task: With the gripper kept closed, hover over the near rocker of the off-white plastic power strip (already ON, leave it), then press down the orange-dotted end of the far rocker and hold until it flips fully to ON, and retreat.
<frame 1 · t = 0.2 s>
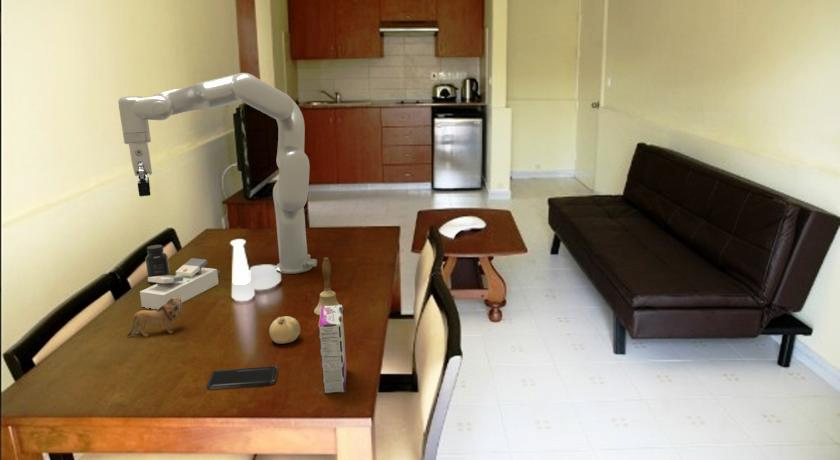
hand: (144, 192, 203), 31 cm above the table, tool pointing down, fingers open, 9 cm apart
strip: (182, 295, 203), on the table
supplement bottle: (159, 282, 216), on the table
hand bell: (328, 311, 188), on the table
phone: (243, 381, 150), on the table
candy bar box: (335, 382, 148), on the table
rocker 1: (192, 267, 206), point 7 cm above the table, hinge at -14.0°
rocker 2: (165, 279, 196), point 7 cm above the table, hinge at 14.0°
lion figurine: (159, 332, 177), on the table
onion: (285, 341, 169), on the table
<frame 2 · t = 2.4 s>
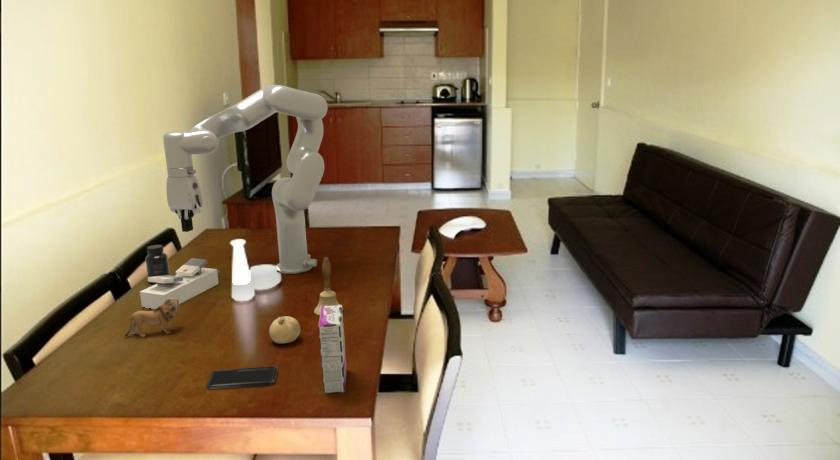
hand: (187, 230, 203), 19 cm above the table, tool pointing down, fingers closed
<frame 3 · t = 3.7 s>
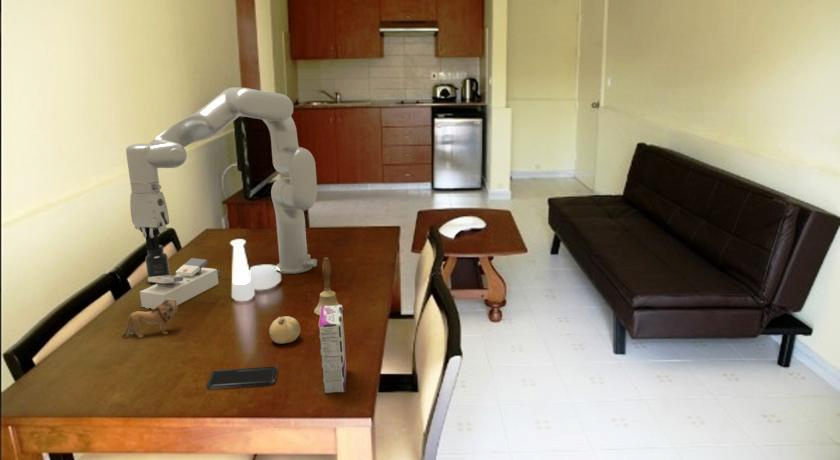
hand: (153, 249, 190), 17 cm above the table, tool pointing down, fingers closed
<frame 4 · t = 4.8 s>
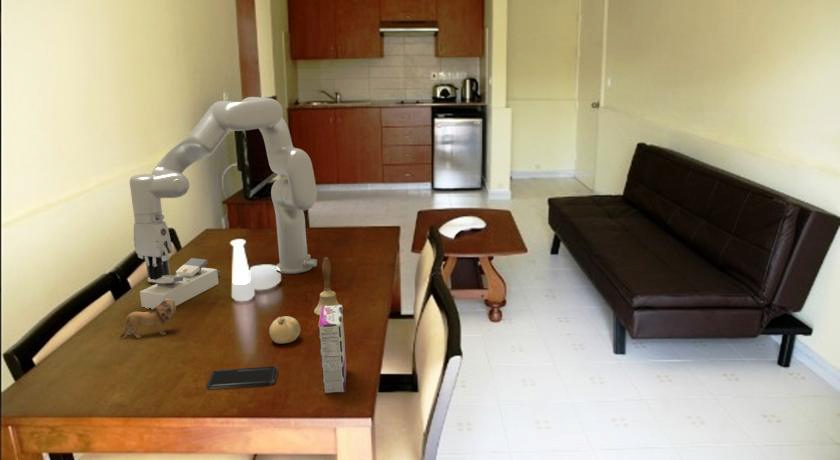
hand: (156, 278, 192), 9 cm above the table, tool pointing down, fingers closed
rocker 2: (165, 279, 196), point 7 cm above the table, hinge at 13.6°, touching gripper
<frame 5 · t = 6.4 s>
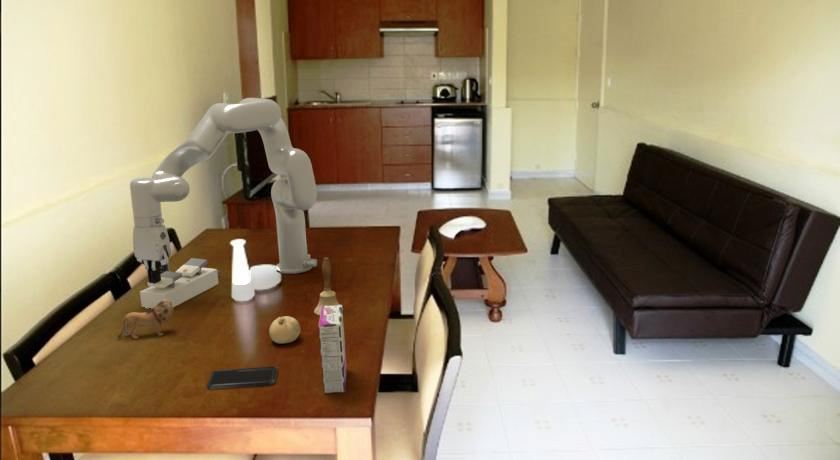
hand: (155, 281, 192), 8 cm above the table, tool pointing down, fingers closed
rocker 2: (165, 280, 195), point 7 cm above the table, hinge at -5.9°, touching gripper
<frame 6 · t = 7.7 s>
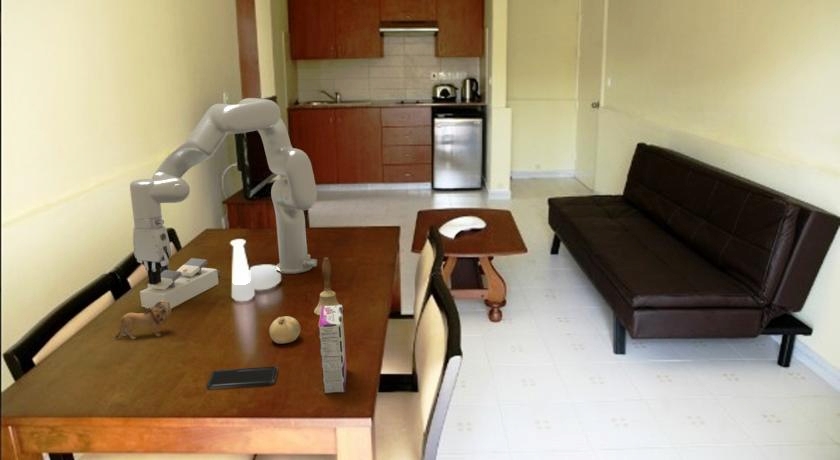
hand: (155, 282, 192), 8 cm above the table, tool pointing down, fingers closed
rocker 2: (165, 280, 195), point 7 cm above the table, hinge at -13.7°, touching gripper
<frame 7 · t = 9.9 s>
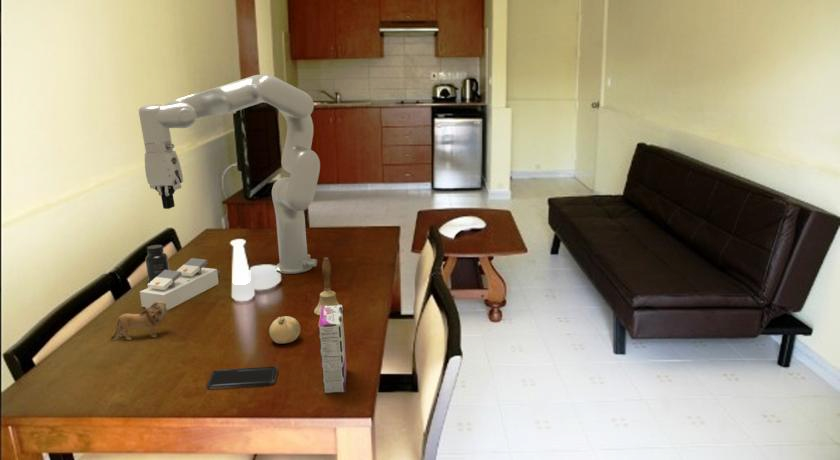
hand: (169, 207, 198), 27 cm above the table, tool pointing down, fingers closed
rocker 2: (165, 280, 195), point 7 cm above the table, hinge at -14.8°
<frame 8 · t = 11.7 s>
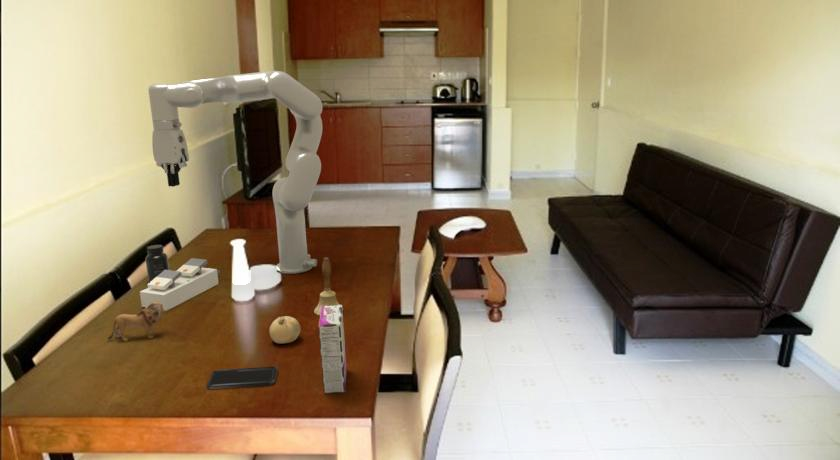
hand: (174, 185, 202), 33 cm above the table, tool pointing down, fingers closed
at the end: rocker 2 at -15° (first picture: +14°); rocker 1 at -14° (first picture: -14°) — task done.
